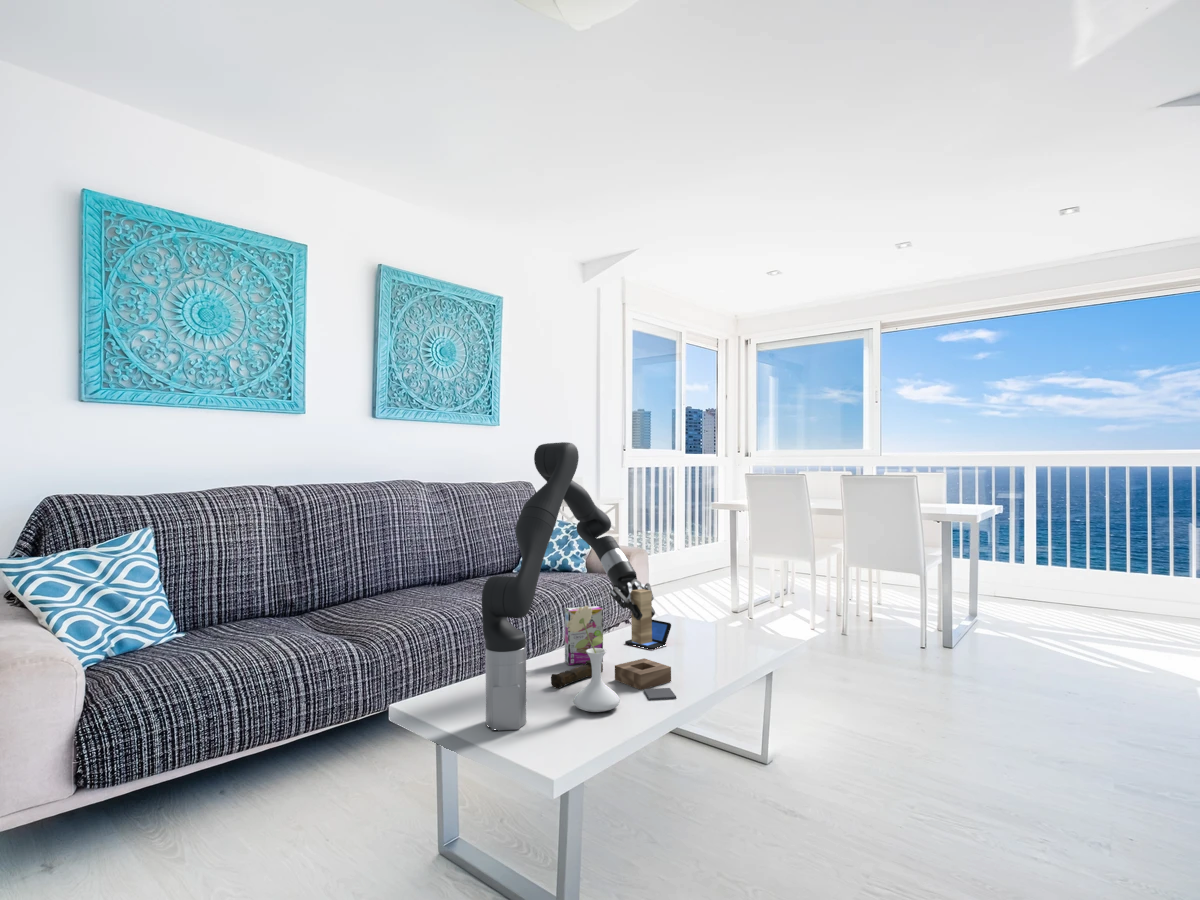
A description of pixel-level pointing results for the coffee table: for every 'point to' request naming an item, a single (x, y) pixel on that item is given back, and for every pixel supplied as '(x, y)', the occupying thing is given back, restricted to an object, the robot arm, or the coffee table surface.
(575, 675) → the brown wooden log
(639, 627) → the oak peg
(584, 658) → the candy bar box
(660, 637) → the handheld game console
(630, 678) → the socket block
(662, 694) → the rubber pad
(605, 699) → the flower in vase
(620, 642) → the coffee table surface
